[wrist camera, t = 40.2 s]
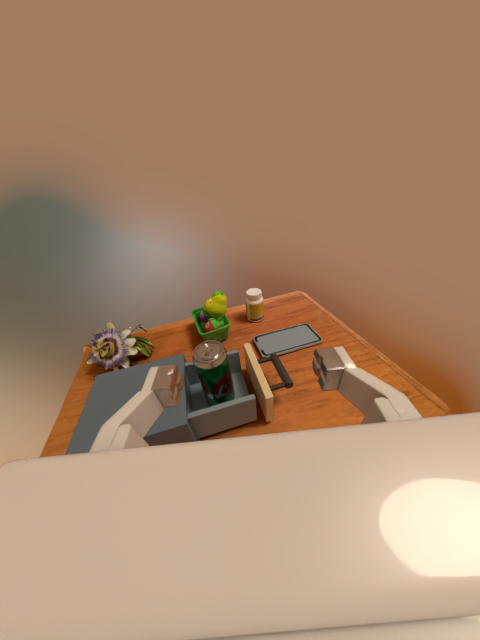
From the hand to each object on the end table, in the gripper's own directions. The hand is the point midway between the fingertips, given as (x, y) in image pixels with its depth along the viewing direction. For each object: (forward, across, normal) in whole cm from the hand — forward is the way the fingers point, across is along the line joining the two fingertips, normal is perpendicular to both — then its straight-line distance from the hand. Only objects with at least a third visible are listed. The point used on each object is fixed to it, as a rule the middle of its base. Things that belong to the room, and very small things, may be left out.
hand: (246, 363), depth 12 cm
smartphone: (+27, +10, -25) cm, 38 cm away
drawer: (+13, -2, -24) cm, 27 cm away
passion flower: (+27, -29, -25) cm, 47 cm away
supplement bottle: (+38, +4, -25) cm, 45 cm away
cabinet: (+10, -17, -25) cm, 32 cm away
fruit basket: (+33, -8, -25) cm, 42 cm away
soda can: (+12, -5, -23) cm, 27 cm away
